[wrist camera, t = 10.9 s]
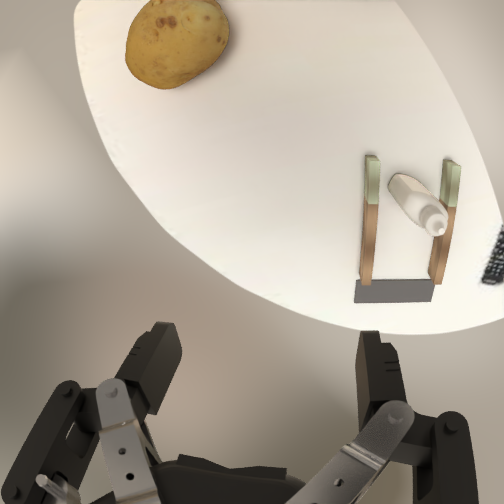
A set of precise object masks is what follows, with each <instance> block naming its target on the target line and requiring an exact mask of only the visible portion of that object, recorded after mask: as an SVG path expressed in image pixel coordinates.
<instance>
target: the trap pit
mask: <svg viewBox="0 0 504 504" xmlns="http://www.w3.org/2000/svg"><path fill="white" fill-rule="evenodd" d="M434 287H435V285H434V284H433V282H432V280H431V279H409V280H371V285H362V284H361V280H356V289H355V298H354V303H404V302H431V299H432V295H433V291H434Z"/></svg>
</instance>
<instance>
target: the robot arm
mask: <svg viewBox="0 0 504 504" xmlns="http://www.w3.org/2000/svg"><path fill="white" fill-rule="evenodd" d="M181 357H182V347H181V344H180V340H179V337H178V334H177V331H176V327H175V325H174V323H169V322H156V323H155V325H154V326H153V328H152V330H151V331H150V332H147V331H146V332H145V333H144V334H143V335H142V336H140V337H139V338H138V339H137V341H136V342H135V344H134V346H133V348H132V349H131V351H130V352H129V355H128V356H127V357H126V359H125V360H124V362H123V364H122V365H121V367H120V369H119V371H118V372H117V374H116V376H115V377H114V378H111V379H107V380H105V381H103V382H102V383H101V384H100V385H99V386H98V387H97V388H85V389H81V387H80V386H79V384H78V383H77V382H75V381H72V380H69V381H64V382H62V383H61V384H59V385H58V386H57V387H56V389H55V390H54V392H53V394H52V395H51V397H50V399H49V400H48V402H47V404H46V405H45V407H44V409H43V411H42V412H41V414H40V416H39V418H38V419H37V421H36V423H35V424H34V426H33V428H32V430H31V432H30V433H29V435H28V437H27V439H26V441H25V443H24V444H23V446H22V448H21V450H20V452H19V454H18V456H17V458H16V460H15V462H14V464H13V466H12V467H11V470H10V471H9V473H8V476H7V478H6V480H5V482H4V484H3V486H2V489H1V496H2V499H3V501H4V502H5V504H81V497H80V494H79V492H78V489H79V487H80V484H81V482H82V480H83V477H84V475H85V472H86V470H87V468H88V465H89V463H90V461H91V458H92V456H93V454H94V451H95V449H96V447H97V444H98V442H99V440H100V441H101V446H102V450H103V454H104V458H105V462H106V466H107V470H108V474H109V477H110V481H111V484H112V488H113V491H111V492H110V493H108V494H106V495H104V496H103V497H101V498H99V499H97V500H95V501H94V502H92V503H90V504H357V503H358V501H359V500H360V499H361V498H362V496H363V495H364V494H365V493H366V491H367V490H368V489H369V488H370V486H371V485H372V484H373V483H374V482H375V480H376V479H377V478H378V477H379V475H380V474H381V473H382V471H383V470H384V469H385V468H386V466H387V465H388V463H389V462H390V461H394V462H399V463H404V464H409V465H412V467H413V504H479V501H478V489H477V479H476V471H475V463H474V456H473V450H472V443H471V437H470V432H469V426H468V423H467V420H466V419H465V417H464V416H463V415H461V414H460V413H458V412H454V411H448V412H444V413H442V414H441V415H440V416H438V418H435V417H430V416H425V415H421V414H418V413H416V412H415V411H414V410H413V409H412V408H411V406H409V405H408V403H407V400H406V395H405V389H404V384H403V380H402V374H401V369H400V364H399V359H398V354H397V351H396V350H395V348H394V347H393V346H392V344H391V343H381V340H380V334H379V331H361V332H360V337H359V343H358V349H357V354H356V364H355V369H356V383H357V400H358V420H359V434H358V435H357V437H356V438H355V439H354V440H353V441H352V442H351V443H350V444H346V445H345V446H344V447H343V448H341V449H340V451H339V452H338V453H337V454H336V455H335V456H334V457H333V458H332V459H331V460H330V461H329V462H328V463H327V464H326V465H325V466H324V467H323V468H322V469H321V470H320V471H319V472H318V473H317V474H316V476H314V477H313V478H312V479H311V480H310V481H309V482H308V483H307V484H306V483H305V482H303V481H301V480H300V479H298V478H295V477H293V476H290V475H287V472H286V471H287V468H276V467H264V466H255V467H245V468H234V469H229V468H226V467H223V466H221V465H218V464H216V463H213V462H211V461H209V460H206V459H204V458H198V457H193V456H187V455H183V454H179V457H178V459H177V460H174V461H167V462H162V460H161V458H160V457H159V455H158V452H157V450H156V447H155V445H154V442H153V439H152V437H151V434H150V431H149V428H148V426H147V423H146V420H145V417H146V415H147V413H148V414H153V415H157V412H158V410H159V408H160V406H161V403H162V401H163V399H164V397H165V394H166V392H167V390H168V387H169V385H170V383H171V381H172V378H173V376H174V373H175V372H176V369H177V367H178V365H179V363H180V361H181ZM73 423H74V425H73V427H72V429H71V431H70V433H69V435H68V437H67V439H66V436H67V433H68V431H69V430H70V428H71V426H72V424H73Z"/></svg>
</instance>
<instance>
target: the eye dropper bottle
mask: <svg viewBox="0 0 504 504" xmlns="http://www.w3.org/2000/svg"><path fill="white" fill-rule="evenodd" d="M388 189H389V191H390V193H391V194H392V195H393V197H394V198H395V200H396V201H397V203H398V204H399V206H400V207H401V208H402V210H403V211H404V213H405V214H406V215H407V216H408V217H409V219H411V220H412V221H413V222H414V223H415V224H416V225H418V226H420V227H422V228H424V229H425V230H426V231H427V233H428V234H429V235H431V236H439V235H443V234H444V233H445V230H446V228H447V225H448V223H447V220H448V213H447V211H446V209H445V208H444V207H443V205H442V204H441V203H440V202H439V201H438V200H437V199H436V198H435V197H434V196H433V195H432V194H431V193H430V192H429V191H428V190H427V189H426V188H425V187H424V186H423V185H422V184H421V183H420V182H419V181H417V180H416V179H414V178H412V177H410V176H407V175H403V174H395V175H394V176H393V178H392V180H391V181H390V183H389V185H388Z"/></svg>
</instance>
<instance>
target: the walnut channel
mask: <svg viewBox="0 0 504 504" xmlns="http://www.w3.org/2000/svg"><path fill="white" fill-rule="evenodd" d="M460 174H461V166H460V165H458V164H457V163H455V162H453V161H452V160H443V170H442V182H441V191H440V200H439V202H440V203H441V204H442V205H443V207H444V208H445V209H446V211H447V213H448V220H447V223H448V225H447V228H446V230H445V233H444V234H443V235H439V236H434V242H433V248H432V253H431V259H430V264H429V269H428V274H429V276H430V278H431V280H432V282H433V284H434V285H437V284H442V280H443V276H444V271H445V267H446V262H447V258H448V253H449V248H450V243H451V238H452V232H453V226H454V220H455V214H456V207H457V200H458V192H459V183H460ZM379 182H380V161H379V159H378V158H377V157H376V156H369V155H365V192H364V215H363V232H362V246H361V259H360V270H359V274H360V279H361V284H362V285H371V279H372V271H373V262H374V252H375V242H376V230H377V217H378V202H379Z"/></svg>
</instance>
